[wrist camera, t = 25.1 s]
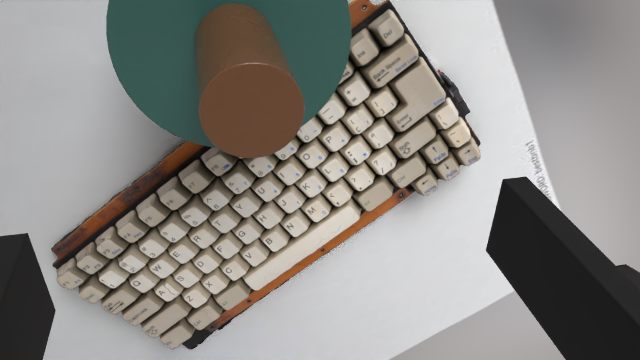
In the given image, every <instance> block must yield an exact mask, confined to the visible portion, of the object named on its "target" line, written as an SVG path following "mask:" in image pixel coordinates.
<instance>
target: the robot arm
mask: <svg viewBox="0 0 640 360" xmlns="http://www.w3.org/2000/svg"><path fill="white" fill-rule="evenodd" d="M486 251H487V253H488V254H489V255H490V257H491V258H492V259H493V261H494V262H495V263H496V265H497V266H498V268H499V269H500V270H501V272H502V273H503V274H504V276H505V277H506V279H507V280H508V281H509V283H510V284H511V285H512V287H513V288H514V289H515V291H516V292H517V293H518V295H519V296H520V298H521V299H522V300H523V302H524V303H525V304H526V306H527V307H528V308H529V310H530V311H531V313H532V314H533V315H534V317H535V318H536V320H537V321H538V322H539V324H540V325H541V326H542V328H543V329H544V330H545V332H546V333H547V335H548V336H549V337H550V339H551V340H552V341H553V343H554V344H555V345H556V347H557V348H558V350H559V351H560V352H561V354H562V355H563V357H564V358H565V359H566V360H640V273H639V272H638V271H636V270H634V269H633V268H631V267H629V266H627V265H626V264H625V265H619V266H615V265H614V264H613V263H612V262H611V261H610V260H609V259H608V258H607V257H606V256H605V255H604V254H603V253H602V252H601V251H600V250H599V249H598V248H597V247H596V246H595V245H594V244H593V243H592V242H591V241H590V240H589V239H588V238H587V237H586V236H585V235H584V234H583V233H582V232H581V231H580V230H579V229H578V228H577V227H576V226H575V225H574V224H573V223H572V222H571V221H570V220H569V219H568V218H567V217H566V216H565V215H564V214H563V213H562V212H561V211H560V210H559V209H558V208H557V207H556V206H555V205H554V204H553V203H552V202H551V201H550V200H549V199H548V198H547V197H546V196H545V195H544V194H543V193H542V192H541V191H540V190H539V189H538V188H537V187H536V186H535V185H534V184H533V183H532V182H531V181H530V180H529V179H528V178H527V177H519V178H510V179H503V181H502V185H501V189H500V194H499V198H498V202H497V206H496V210H495V215H494V219H493V223H492V227H491V231H490V236H489V240H488V244H487V248H486ZM55 311H56V310H55V308H54V305H53V302H52V299H51V297H50V294H49V291H48V288H47V285H46V283H45V280H44V277H43V274H42V272H41V269H40V266H39V263H38V261H37V258H36V255H35V252H34V250H33V247H32V244H31V241H30V238H29V236H28V233H26V234H17V235H8V236H0V360H43V356H44V352H45V349H46V345H47V341H48V337H49V334H50V330H51V326H52V322H53V318H54V315H55Z"/></svg>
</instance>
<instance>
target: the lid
mask: <svg viewBox="0 0 640 360" xmlns="http://www.w3.org/2000/svg"><path fill="white" fill-rule="evenodd" d="M106 34H107V41H108V49H109V53H110V57H111V60H112V64H113V67H114V69H115V71H116V74H117V76H118V78H119V81H120V82H121V84H122V86H123V87H124V89H125V91H126V92H127V94H128V95H129V97H130V98H131V99H132V100H133V102H134V103H135V104H136V106H137V107H138V108H139V109H140V110H141V111H142V112H143V113H144V114H145V115H146V116H147V117H148V118H150V119H151V120H152V121H154V122H155V123H156V124H157V125H159V126H160V127H162V128H163V129H165V130H167V131H168V132H170V133H172V134H173V135H176V136H178V137H180V138H182V139H184V140H187V141H190V142H193V143H196V144H199V145H204V146H209V147H214V148H219V149H220V150H222V151H224V152H226V153H228V154H230V155H233V156H236V157H241V158H259V157H264V156H268V155H271V154H273V153H275V152H277V151H279V150H281V149H282V148H284V147H285V146H286V145H287V144H289V143H290V142H291V141H292V139H293V138H294V137H295V136H296V134H297V133H298V131H299V129H300V127H302V126H303V125H305V124H306V123H307V122H309V121H310V120H311V119H312V118H313V117H314V116H315V115H316V114H317V113H318V112H319V111H320V110H321V109H322V108H323V107H324V106H325V104H326V103H327V102H328V101H329V99H330V98H331V96H332V95H333V93H334V92H335V90H336V88H337V86H338V84H339V82H340V81H341V79H342V76H343V73H344V71H345V68H346V65H347V61H348V57H349V53H350V45H351V17H350V10H349V5H348V1H347V0H109V5H108V11H107V33H106Z"/></svg>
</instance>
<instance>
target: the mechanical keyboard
mask: <svg viewBox="0 0 640 360" xmlns="http://www.w3.org/2000/svg"><path fill="white" fill-rule="evenodd" d="M363 7H366V8H365V10H363ZM349 10H350V17H351V45H350V53H349V57H348V61H347V65H346V68H345V71H344V73H343V76H342V79H341V81H340V82H339V84H338V86H337V88H336V90H335V92H334V93H333V95H332V96H331V98H330V99H329V101H328V102H327V103H326V104H325V106H324V107H323V108H322V109H321V110H320V111H319V112H318V113H317V114H316V115H315V116H314V117H313V118H312V119H311V120H310V121H309V122H307V123H306V124H305V125H303V126H302V127H300V129H299V131H298V133H297V134H296V136H295V137H294V138H293V139H292V141H291V142H290V143H289V144H287V145H286V146H285V147H284V148H282V149H281V150H279V151H277V152H275V153H273V154H271V155H268V156H264V157H259V158H241V157H236V156H233V155H230V154H228V153H226V152H224V151H222V150H220V149H219V148H214V147H209V146H204V145H199V144H196V143H193V142H190V141H186V142H185V143H184V144H183V145H182V146H180V147H178V148H177V149H176V150H175V151H174V152H173V153H171V154H169V155H168V156H167V157H166V158H164V160H163V161H162V162H161V163H159V164H157V166H156V167H155V168H153V169H152V170H151V171H149V172H148V173H146V174H144V175H143V176H141V177H140V178H138V179H137V180H136V181H134V182H133V183H132V185H131V186H129V187H128V188H126V189H125V190H123V191H122V192H119V193H118V194H117V195H115V196H114V197H113V198H112V199H111V200H110V201H109V203H108V204H106V205H105V206H103V207H102V208H101V209H100V210H98V211H97V212H96V213H94V214H93V215H92V216H90V217H88V218H87V219H86V220H85V221H84V222H83V223H82V224H81V225H79V226H78V227H76V229H75V230H73V231H72V232H70V233H69V234H67V235H66V236H65V237H63V239H61V240H60V241H59V242H58V243H57V244H55V245H54V247H53V248H51V250H52V251H53V252H54V253H55V254H56V255H57V257H58V259H57V260H56V262H54V263H53V267H55V268H56V269H58V270H57V282H58V284H59V285H60V286H62V287H64V288H66V289H71V290H72V289H75V288H76V287H79V295H80V297H81V298H83V299H84V300H86V301H88V302H90V303H96V302H97V301H98V300H101V302H102V307H103V308H104V309H105V310H107V311H108V312H110V313H112V314H117V313H119V312H121V313H122V316H123V318H124V319H125V320H126V321H127V322H129V323H130V324H132V325H134V326H136V325H138V324H141V326H142V329H143V331H144V332H145V333H147V334H148V335H149V336H151V337H153V338H157V337H158V336H160V339H161V341H162V342H163V343H164V344H165V345H166V346H167V347H169V348H170V349H175V348H176V347H177V346H179V345H180V344H183V345H184V346H186V347H187V348H188V349H194V348H195V347H197V346H198V345H197V344H201V343H202V342H203V341H204V340H205V339H206V338H207V337H208V336H209V335H210V334H212V333H213V332H214V331H216V329H219V330H220V329H222V328H223V327H224V326H225V325H227V324H228V323H230V322H231V320H232V319H233V318H234V317H236V316H238V315H239V314H241V313H242V312H244V311H245V310H246V309H247V308H249V307H250V306H251V305H253V304H254V303H255V302H257V301H259V300H261V299H262V298H263V297H265V296H266V295H267V294H269V293H270V292H271V291H272V290H274V289H276V288H278V287H279V286H281V285H282V284H284V283H285V282H286V281H288V280H289V279H290V278H291V277H293V276H294V275H296V274H297V273H298V272H300V271H301V270H303V269H304V268H306V267H307V266H308V265H310V264H312V263H313V262H314V261H316V260H317V259H319V258H320V257H321V256H323V255H325V254H326V253H329V252H330V251H331V250H332V249H333V248H335V247H336V246H338V245H339V244H341V243H342V242H343V241H345V240H346V239H347V238H349V237H350V236H352V235H353V234H355V233H356V232H358V231H359V230H360V229H362V228H363V227H365V226H366V225H368V224H369V223H370V222H372V221H374V220H375V219H377V218H378V217H379V216H381V215H382V214H384V213H385V212H386V211H388V210H389V209H391V208H392V207H394V206H395V205H396V204H398V203H400V202H401V201H403V200H405V198H406V197H408V196H409V195H410V194H411V193H412V192H414V191H416V192H418V193H420V194H421V195H423V196H428V195H429V194H430V193H432V192H433V191H435V190H436V189H437V188H438V182H437V181H438V179H443V180H450V179H452V178H453V177H455V176H456V175H457V174H459V172H460V169H459V166H460V165H465V166H469V165H471V164H473V163H474V162H476V161H478V160H479V159H480V149H479V147H478V146H479V145H480V141H479V139H478V138H477V136H476V135H475V133H474V132H473V131H472V128H471V127H470V125H469V124H468V122H467V121H466V119H465V116H466V115H467V114H468V113H470V110H469V109H468V107H467V105H466V103H465V102H464V100H463V99H462V97H461V95H460V93H459V90H458V88H457V87H456V86H455V84H454V83H453V82H451V81H450V79H449V78H448V77H447V76H446V75H445V74H444V73H443V72H441V71H440V70H438V71H436V70H435V68H434V67H433V65H432V64H431V62H430V61H429V59H428V58H427V57H426V55H425V54H424V52H423V51H422V50H421V49H420V47H419V45H418V44H417V42H416V41H415V39H414V38H413V36H412V34H411V33H410V31H409V30H408V28H407V27H406V25H405V23H404V22H403V21H402V19H401V18H400V16H399V14H398V13H397V11H396V10H395V8H394V7H393V5H392V3H391V2H390V1H389V0H386V1H384V2H383V3H381V4H379V5H373V4H372V3H370V1H369V0H354V1H352V2H351V3H350V4H349ZM400 194H402V197H400Z"/></svg>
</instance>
